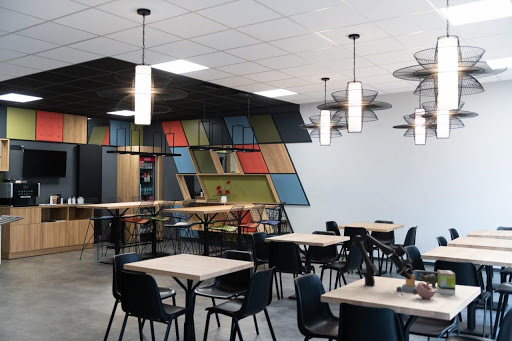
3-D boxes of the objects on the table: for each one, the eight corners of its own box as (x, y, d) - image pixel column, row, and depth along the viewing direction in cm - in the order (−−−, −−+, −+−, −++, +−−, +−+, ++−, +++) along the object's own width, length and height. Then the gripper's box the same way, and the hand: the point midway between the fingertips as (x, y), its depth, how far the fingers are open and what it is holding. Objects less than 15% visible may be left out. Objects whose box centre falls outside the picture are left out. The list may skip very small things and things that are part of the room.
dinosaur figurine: (436, 284, 365) (436, 270, 365) (446, 286, 357) (445, 271, 358) (417, 288, 353) (417, 272, 353) (427, 290, 346) (427, 274, 346)
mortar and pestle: (433, 301, 311) (433, 284, 311) (414, 299, 317) (414, 281, 318) (437, 298, 321) (437, 281, 321) (419, 295, 327) (418, 279, 328)
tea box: (455, 295, 330) (455, 273, 331) (440, 294, 332) (440, 273, 333) (451, 290, 345) (451, 269, 346) (436, 289, 347) (436, 269, 348)
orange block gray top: (405, 289, 344) (405, 274, 344) (408, 288, 347) (407, 273, 347) (412, 290, 341) (412, 275, 341) (414, 289, 344) (414, 274, 344)
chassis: (395, 290, 343) (395, 285, 343) (403, 287, 355) (403, 282, 355) (418, 293, 333) (418, 288, 333) (424, 290, 345) (424, 285, 345)
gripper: (400, 255, 340) (415, 272, 333) (409, 252, 355) (424, 269, 348) (389, 265, 344) (404, 282, 337) (398, 262, 359) (413, 278, 352)
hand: (412, 278), depth 343 cm, fingers open, 9 cm apart
